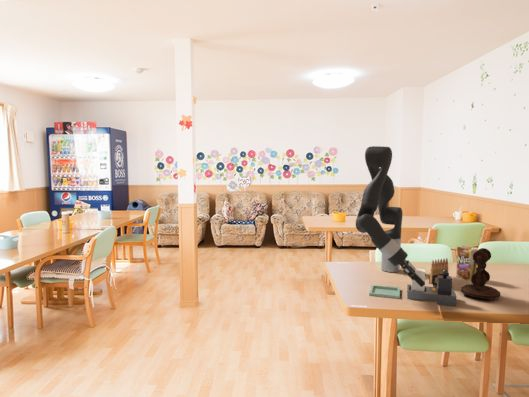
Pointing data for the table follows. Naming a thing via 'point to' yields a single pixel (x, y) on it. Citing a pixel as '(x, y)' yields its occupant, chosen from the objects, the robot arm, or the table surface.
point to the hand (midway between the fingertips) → (423, 283)
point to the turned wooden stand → (480, 278)
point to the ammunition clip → (437, 270)
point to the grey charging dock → (436, 292)
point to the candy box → (465, 262)
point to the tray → (385, 291)
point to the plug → (414, 284)
